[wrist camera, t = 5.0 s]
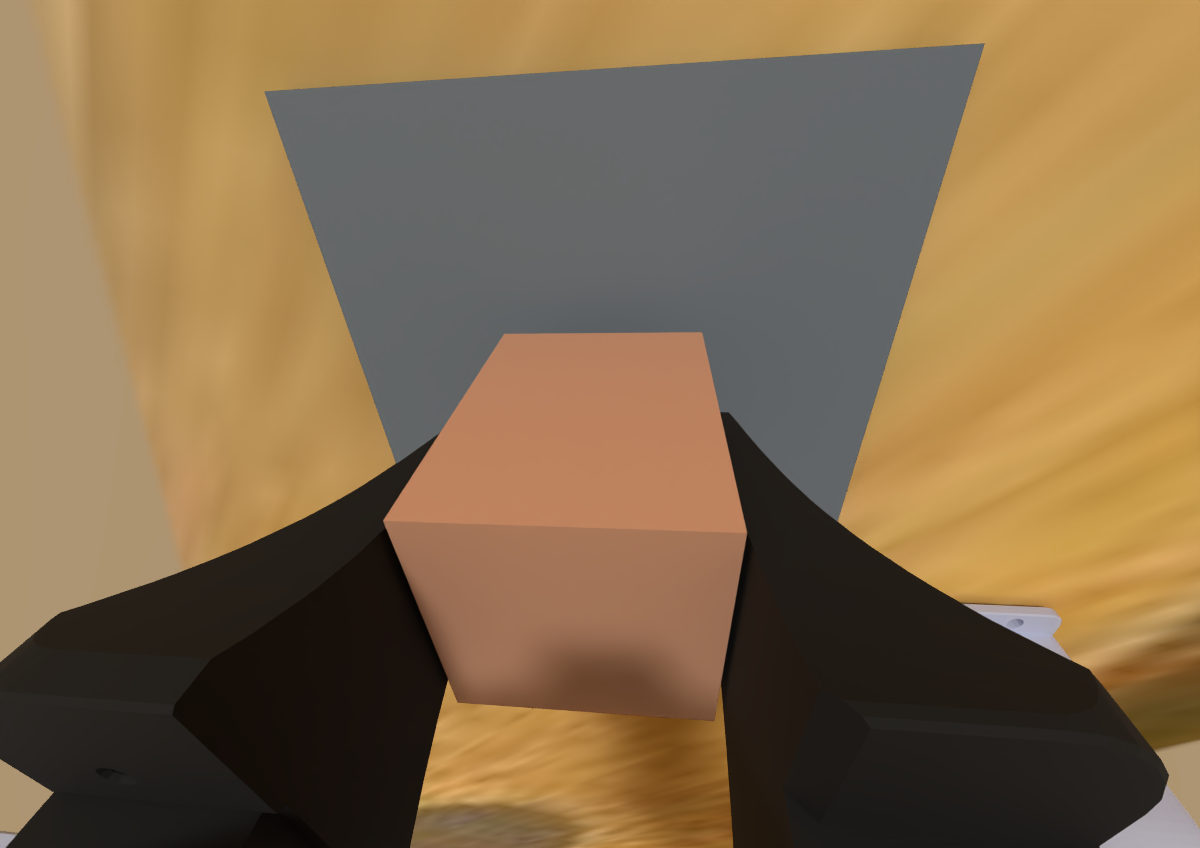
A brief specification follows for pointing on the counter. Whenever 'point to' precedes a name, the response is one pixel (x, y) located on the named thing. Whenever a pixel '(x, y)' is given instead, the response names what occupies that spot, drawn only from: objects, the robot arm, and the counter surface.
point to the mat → (638, 226)
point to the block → (579, 528)
